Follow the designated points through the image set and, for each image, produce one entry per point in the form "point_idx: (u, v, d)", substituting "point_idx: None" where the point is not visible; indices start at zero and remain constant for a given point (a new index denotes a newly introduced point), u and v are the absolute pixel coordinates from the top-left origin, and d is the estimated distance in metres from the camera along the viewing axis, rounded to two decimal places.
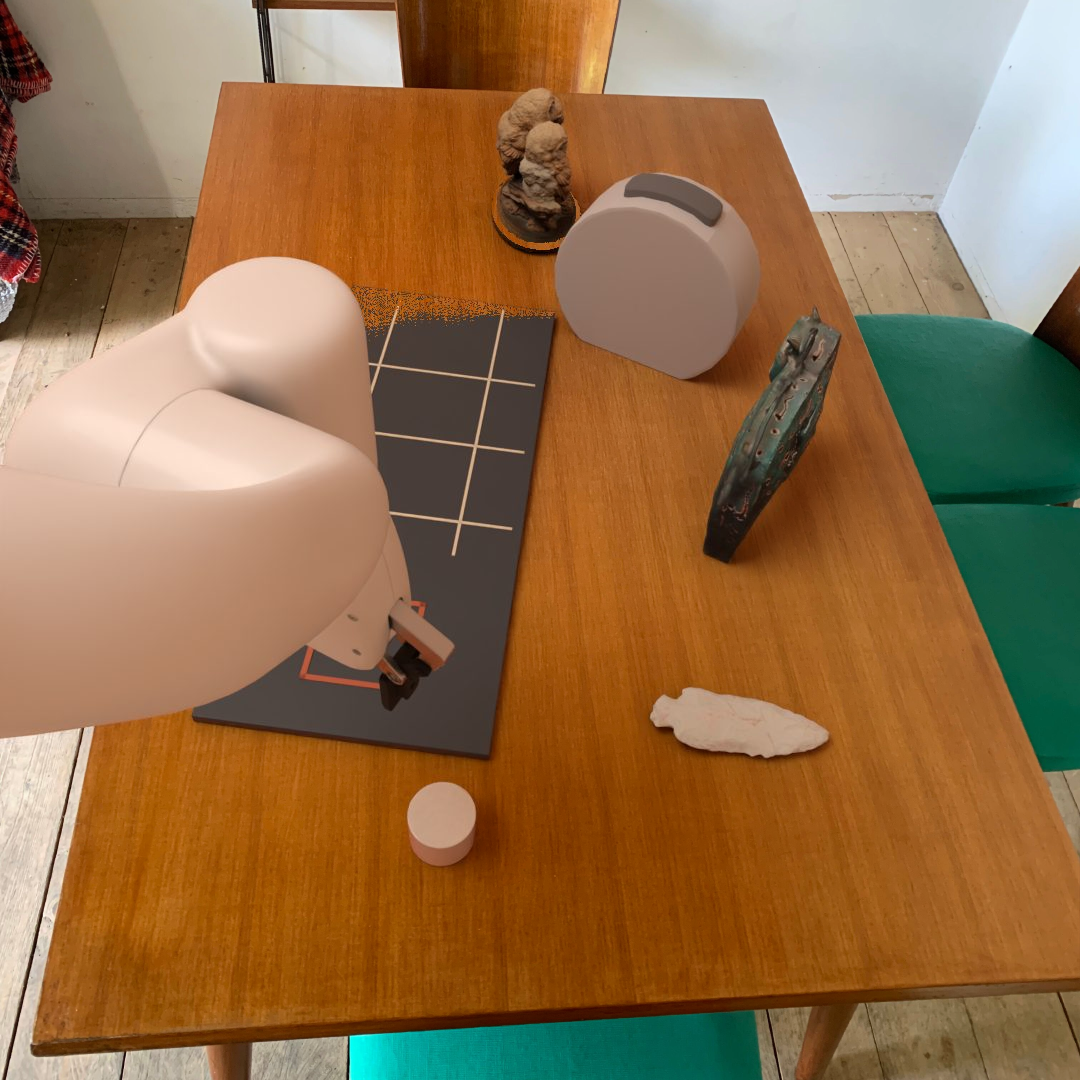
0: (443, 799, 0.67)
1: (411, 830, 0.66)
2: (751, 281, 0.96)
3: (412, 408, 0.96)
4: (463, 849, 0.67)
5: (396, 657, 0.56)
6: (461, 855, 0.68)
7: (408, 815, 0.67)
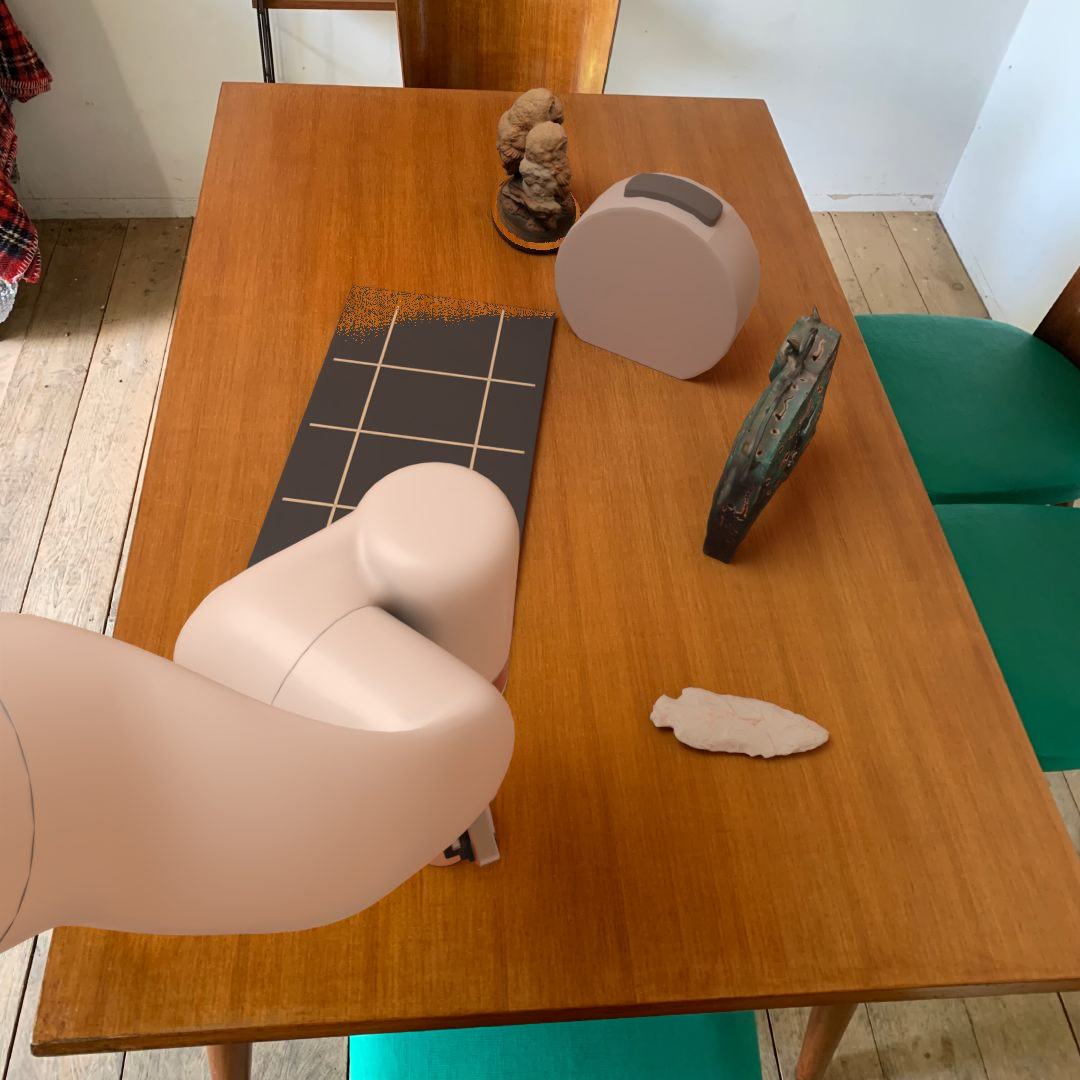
0: None
1: None
2: (751, 281, 0.96)
3: (412, 408, 0.96)
4: None
5: None
6: None
7: None
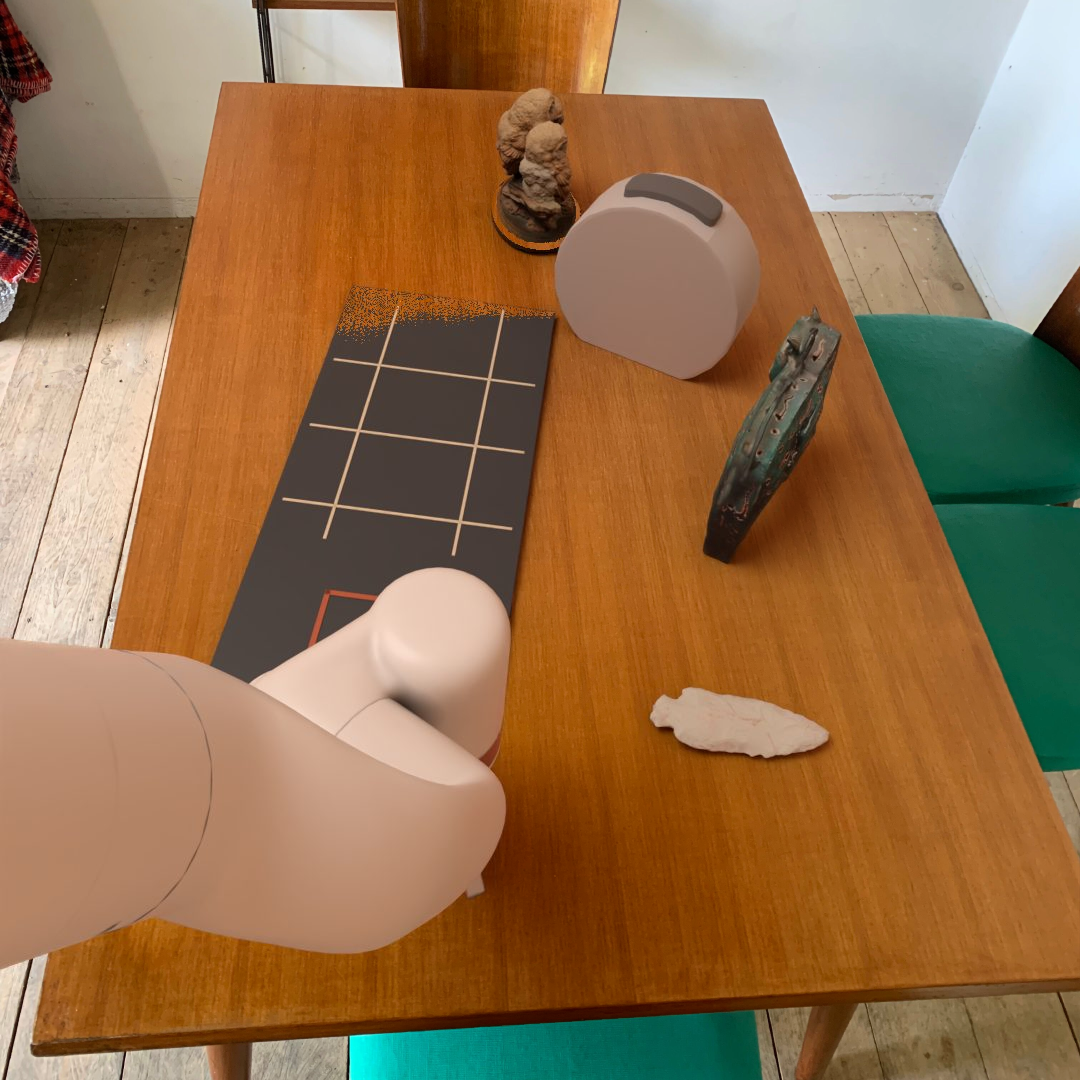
0: None
1: None
2: (751, 281, 0.96)
3: (412, 408, 0.96)
4: None
5: None
6: None
7: None
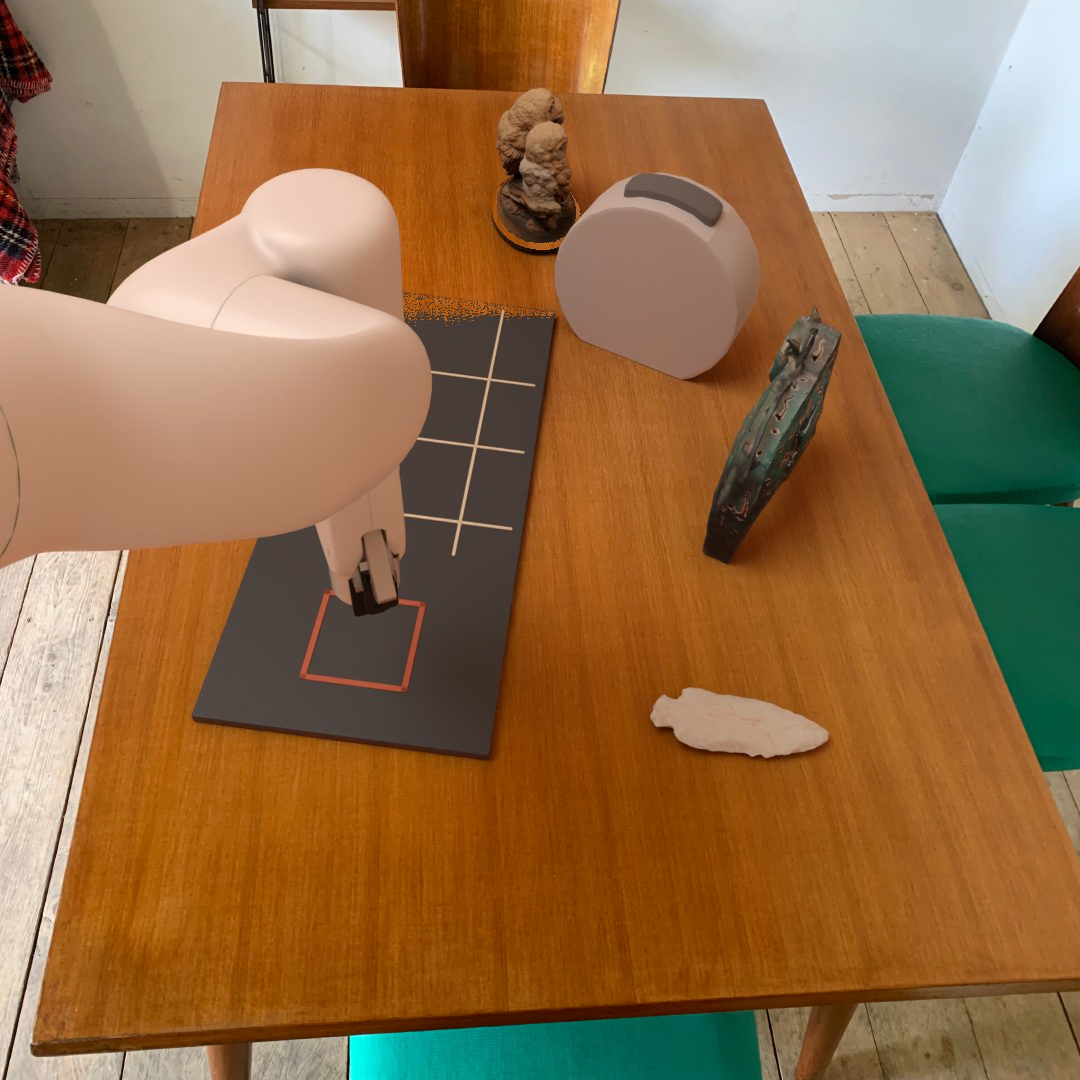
0: None
1: None
2: (751, 281, 0.96)
3: None
4: None
5: (368, 570, 0.61)
6: None
7: None
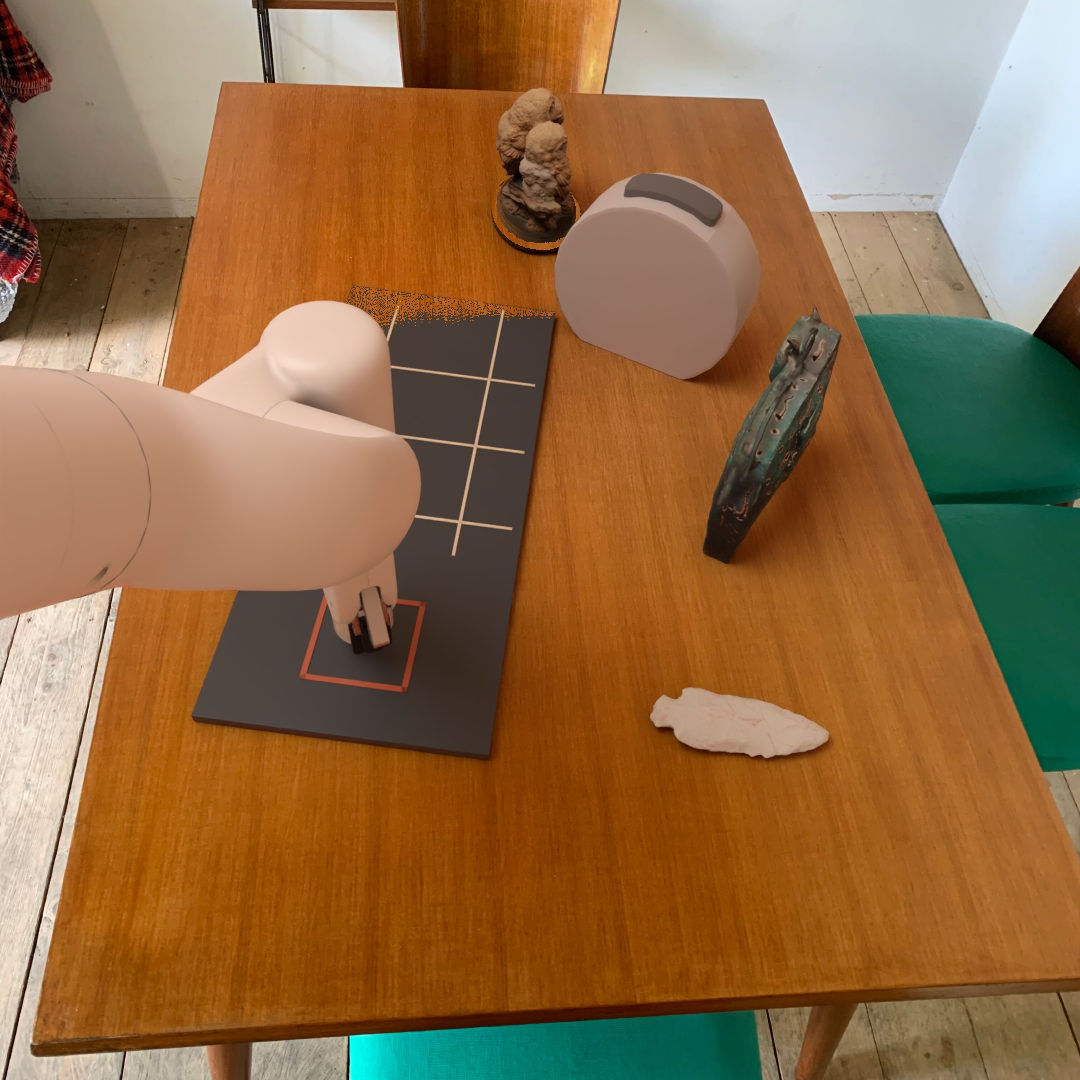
0: None
1: None
2: (751, 281, 0.96)
3: (412, 408, 0.96)
4: None
5: (365, 616, 0.71)
6: None
7: None
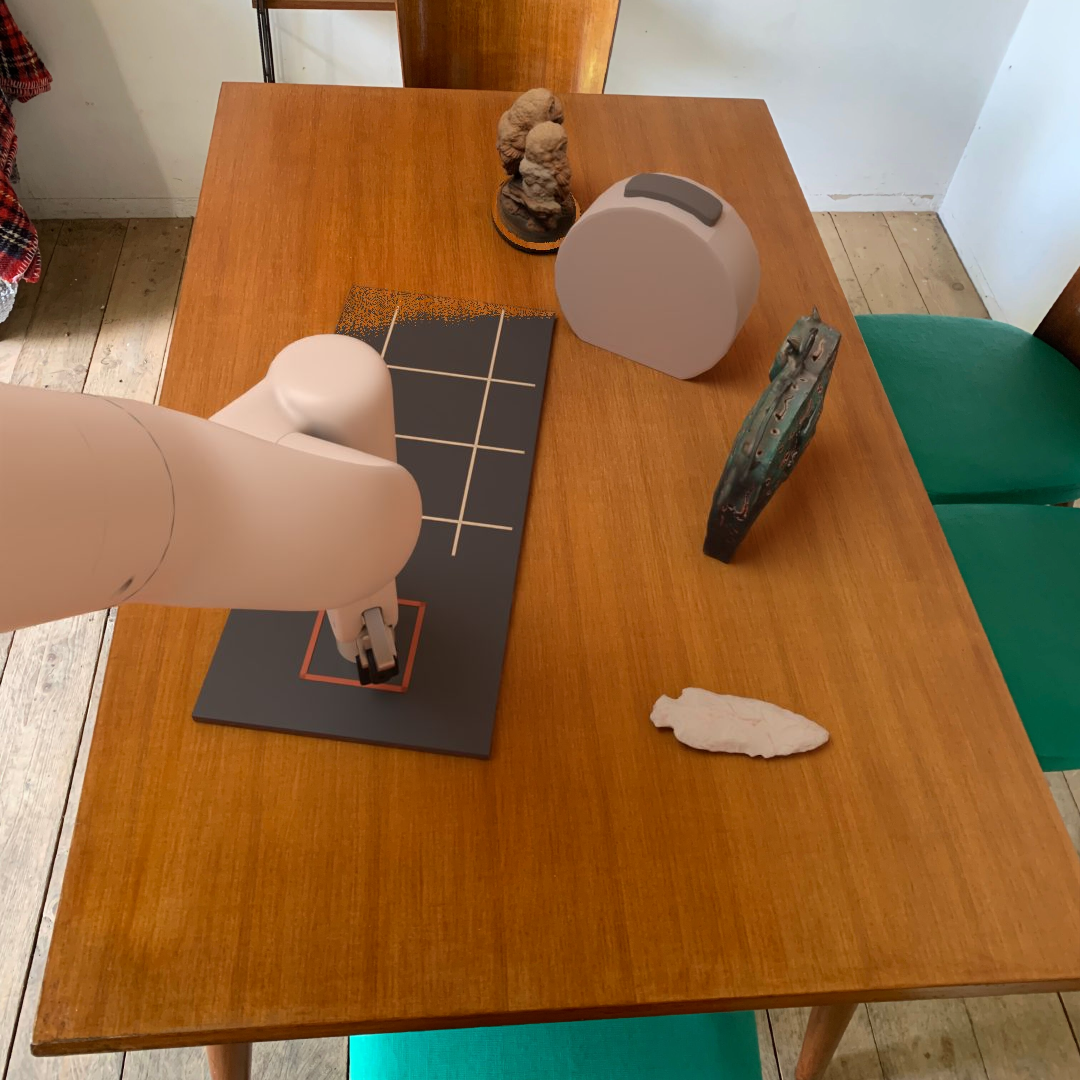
0: None
1: None
2: (751, 281, 0.96)
3: (412, 408, 0.96)
4: None
5: None
6: None
7: None
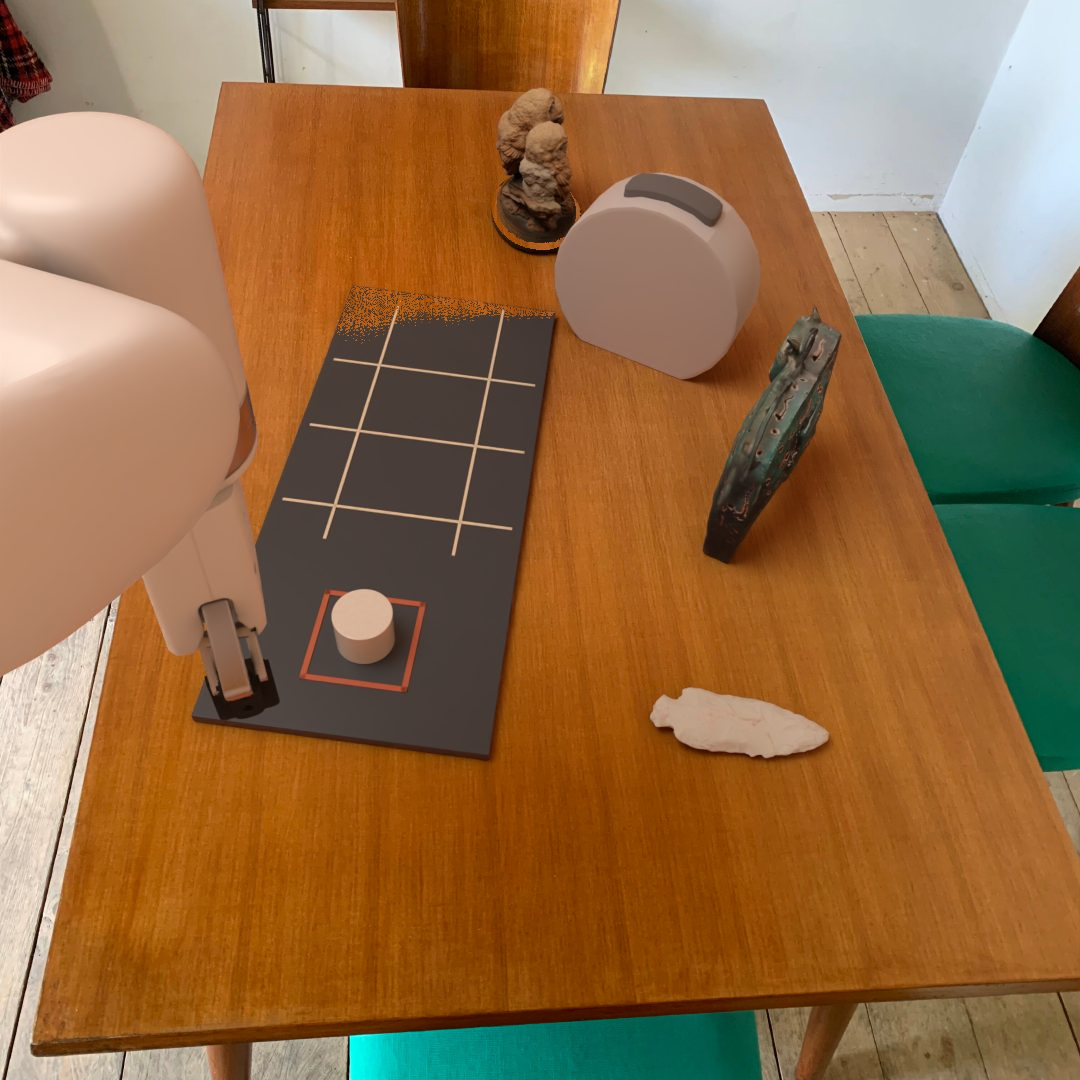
0: (364, 602, 0.76)
1: (334, 626, 0.75)
2: (751, 281, 0.96)
3: (412, 408, 0.96)
4: (382, 646, 0.76)
5: None
6: (381, 654, 0.77)
7: (332, 614, 0.75)
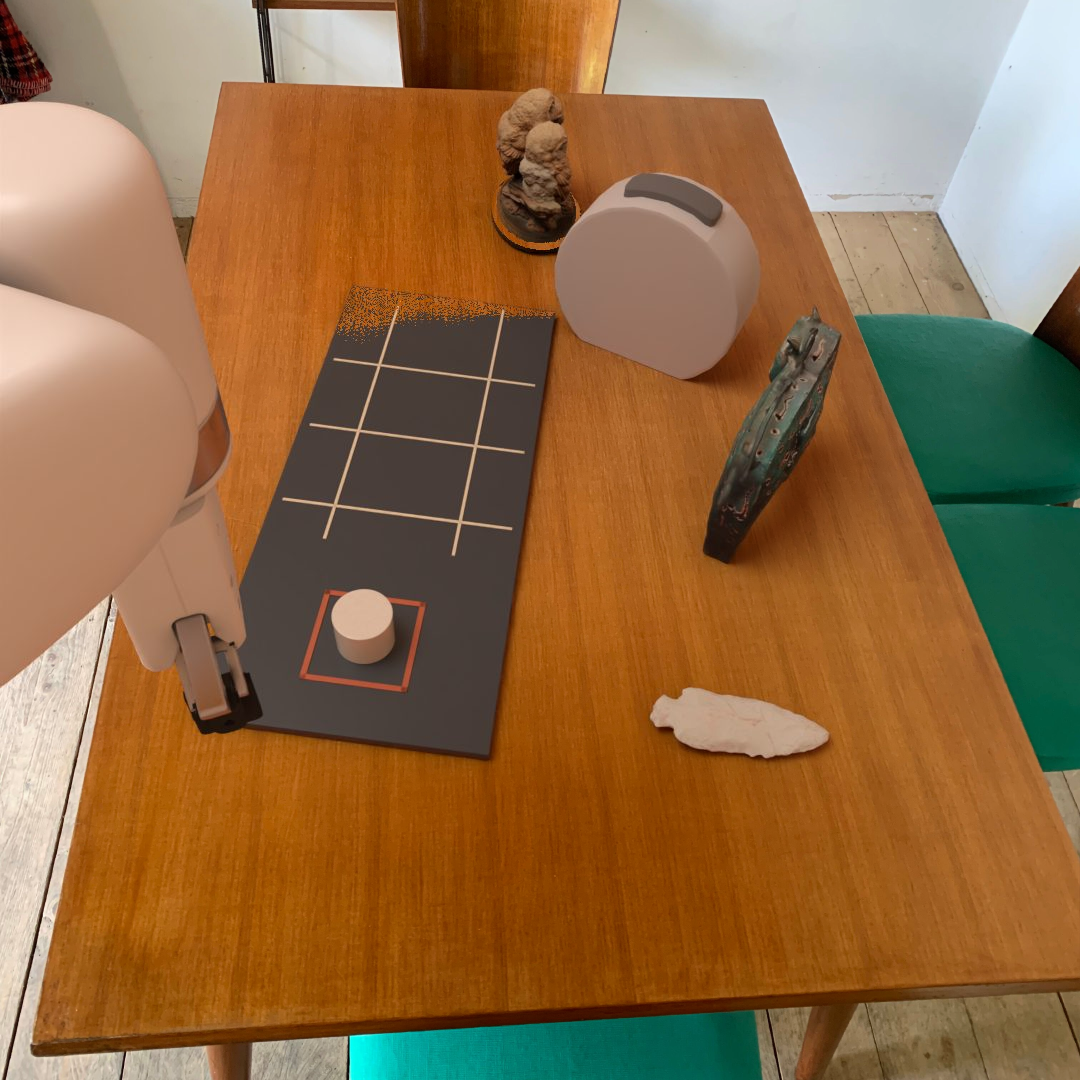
0: (364, 602, 0.76)
1: (334, 626, 0.75)
2: (751, 281, 0.96)
3: (412, 408, 0.96)
4: (382, 646, 0.76)
5: None
6: (381, 654, 0.77)
7: (332, 614, 0.75)
